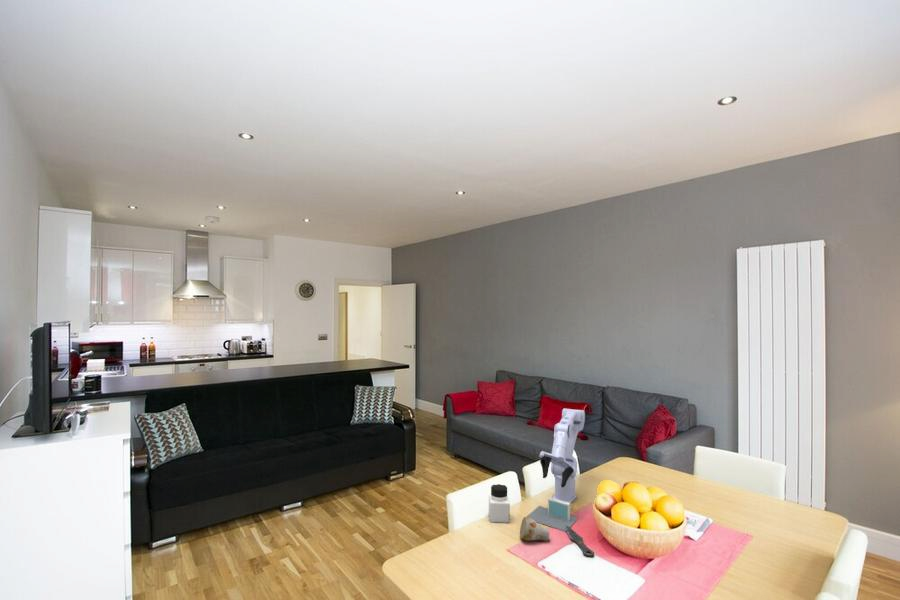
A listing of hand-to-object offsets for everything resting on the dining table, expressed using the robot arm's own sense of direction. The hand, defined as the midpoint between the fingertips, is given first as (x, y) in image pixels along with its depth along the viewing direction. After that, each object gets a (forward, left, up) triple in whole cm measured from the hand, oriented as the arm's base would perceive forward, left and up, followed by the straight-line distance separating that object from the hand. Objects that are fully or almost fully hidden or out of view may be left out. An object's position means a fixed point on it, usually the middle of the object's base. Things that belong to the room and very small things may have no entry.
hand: (554, 481), depth 159 cm
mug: (+19, +1, -14) cm, 23 cm away
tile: (-1, +2, -13) cm, 13 cm away
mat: (+1, 0, -13) cm, 13 cm away
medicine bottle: (+13, -16, -14) cm, 25 cm away
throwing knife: (+11, +13, -13) cm, 21 cm away
